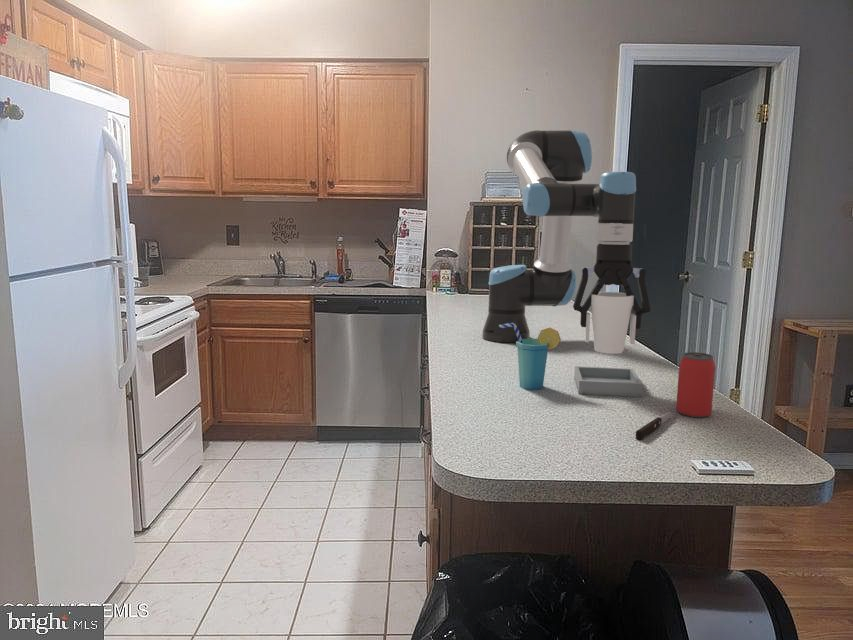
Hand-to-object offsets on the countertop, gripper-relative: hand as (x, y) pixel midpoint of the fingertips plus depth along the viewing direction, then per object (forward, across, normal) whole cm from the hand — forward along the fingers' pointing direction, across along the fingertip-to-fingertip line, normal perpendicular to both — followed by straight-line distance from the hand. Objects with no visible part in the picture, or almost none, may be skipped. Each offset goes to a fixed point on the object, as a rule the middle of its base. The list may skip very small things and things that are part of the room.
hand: (609, 341), depth 140 cm
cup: (+11, -18, -3) cm, 21 cm away
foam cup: (+2, 0, 0) cm, 2 cm away
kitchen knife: (+11, +6, -26) cm, 29 cm away
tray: (+11, 0, 0) cm, 11 cm away
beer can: (+11, +15, -16) cm, 25 cm away
